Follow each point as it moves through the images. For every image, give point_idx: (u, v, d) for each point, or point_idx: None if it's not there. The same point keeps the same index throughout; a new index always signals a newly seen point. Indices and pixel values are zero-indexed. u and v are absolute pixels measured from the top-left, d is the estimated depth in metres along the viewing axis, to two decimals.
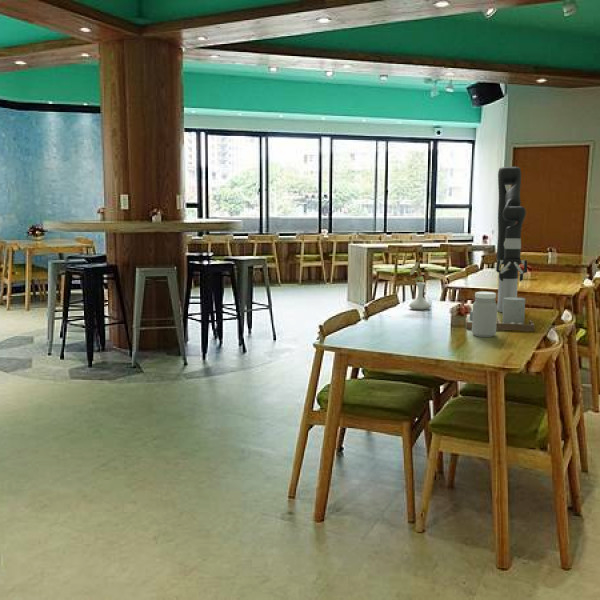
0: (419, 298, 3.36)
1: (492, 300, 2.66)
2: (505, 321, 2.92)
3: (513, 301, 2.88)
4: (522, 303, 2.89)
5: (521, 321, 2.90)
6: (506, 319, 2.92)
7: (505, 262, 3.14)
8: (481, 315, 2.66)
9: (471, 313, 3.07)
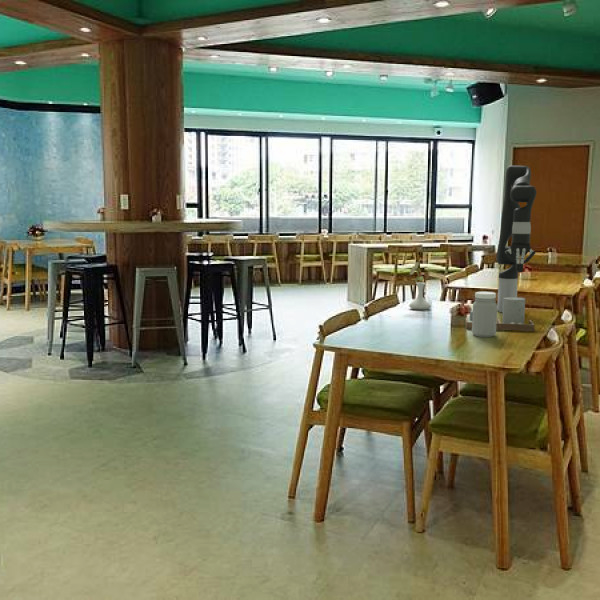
0: (419, 298, 3.36)
1: (492, 300, 2.66)
2: (505, 321, 2.92)
3: (513, 301, 2.88)
4: (522, 303, 2.89)
5: (521, 321, 2.90)
6: (506, 319, 2.92)
7: (513, 251, 2.81)
8: (481, 315, 2.66)
9: (471, 313, 3.07)
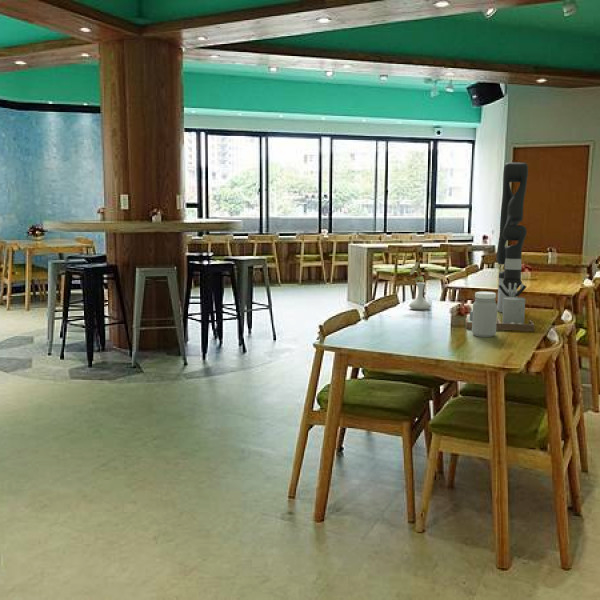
0: (419, 298, 3.36)
1: (492, 300, 2.66)
2: (505, 321, 2.92)
3: (513, 301, 2.88)
4: (522, 303, 2.89)
5: (521, 321, 2.90)
6: (506, 319, 2.92)
7: (506, 286, 3.04)
8: (481, 315, 2.66)
9: (471, 313, 3.07)
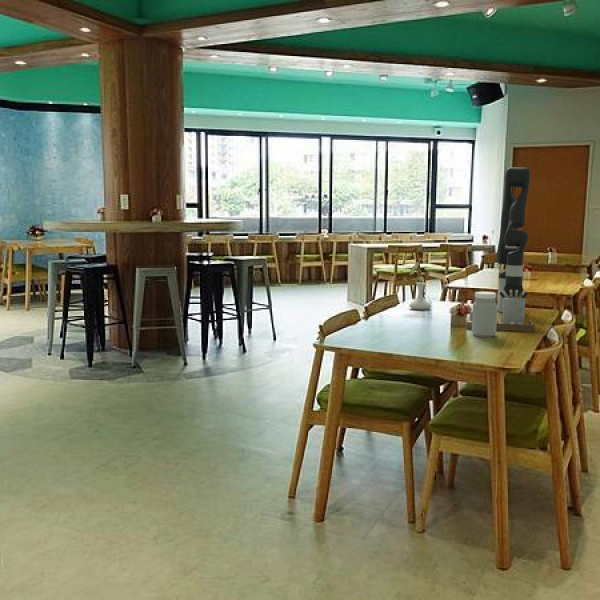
0: (419, 298, 3.36)
1: (492, 300, 2.66)
2: (505, 321, 2.92)
3: (513, 301, 2.88)
4: (523, 303, 2.89)
5: (521, 321, 2.90)
6: (506, 319, 2.91)
7: (507, 292, 2.97)
8: (481, 315, 2.66)
9: (471, 313, 3.07)
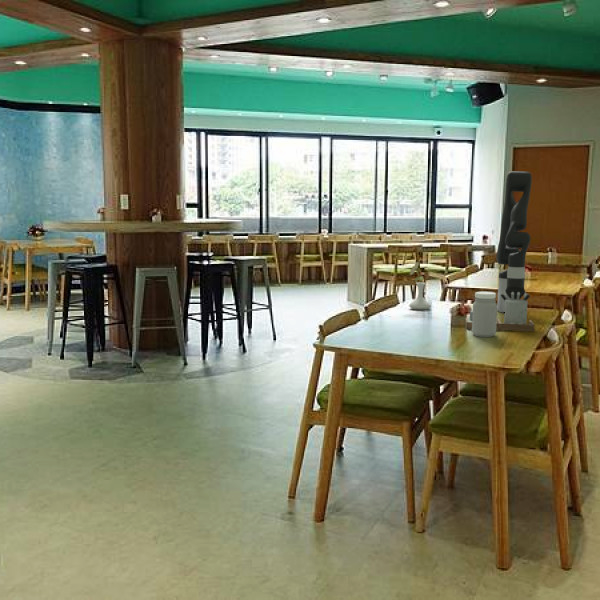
0: (419, 298, 3.36)
1: (492, 300, 2.66)
2: None
3: (515, 303, 2.82)
4: (525, 305, 2.82)
5: None
6: (507, 321, 2.85)
7: (508, 295, 2.91)
8: (481, 315, 2.66)
9: (471, 313, 3.07)
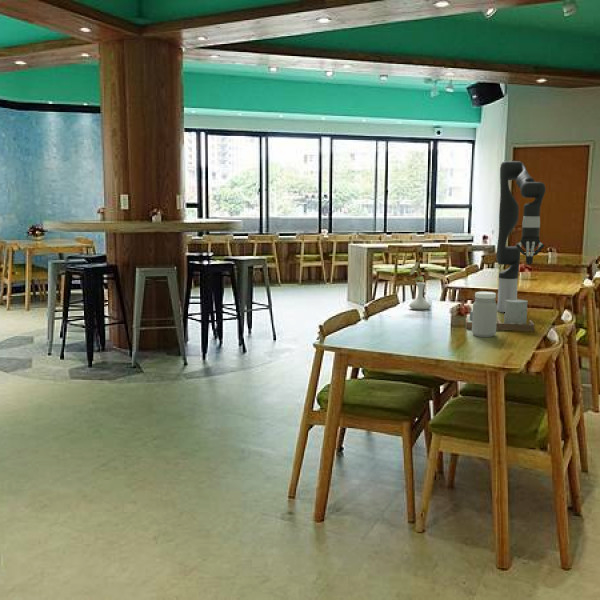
0: (419, 298, 3.36)
1: (492, 300, 2.66)
2: None
3: (515, 303, 2.82)
4: (525, 306, 2.82)
5: None
6: (507, 321, 2.85)
7: (523, 244, 2.95)
8: (481, 315, 2.66)
9: (471, 313, 3.07)
